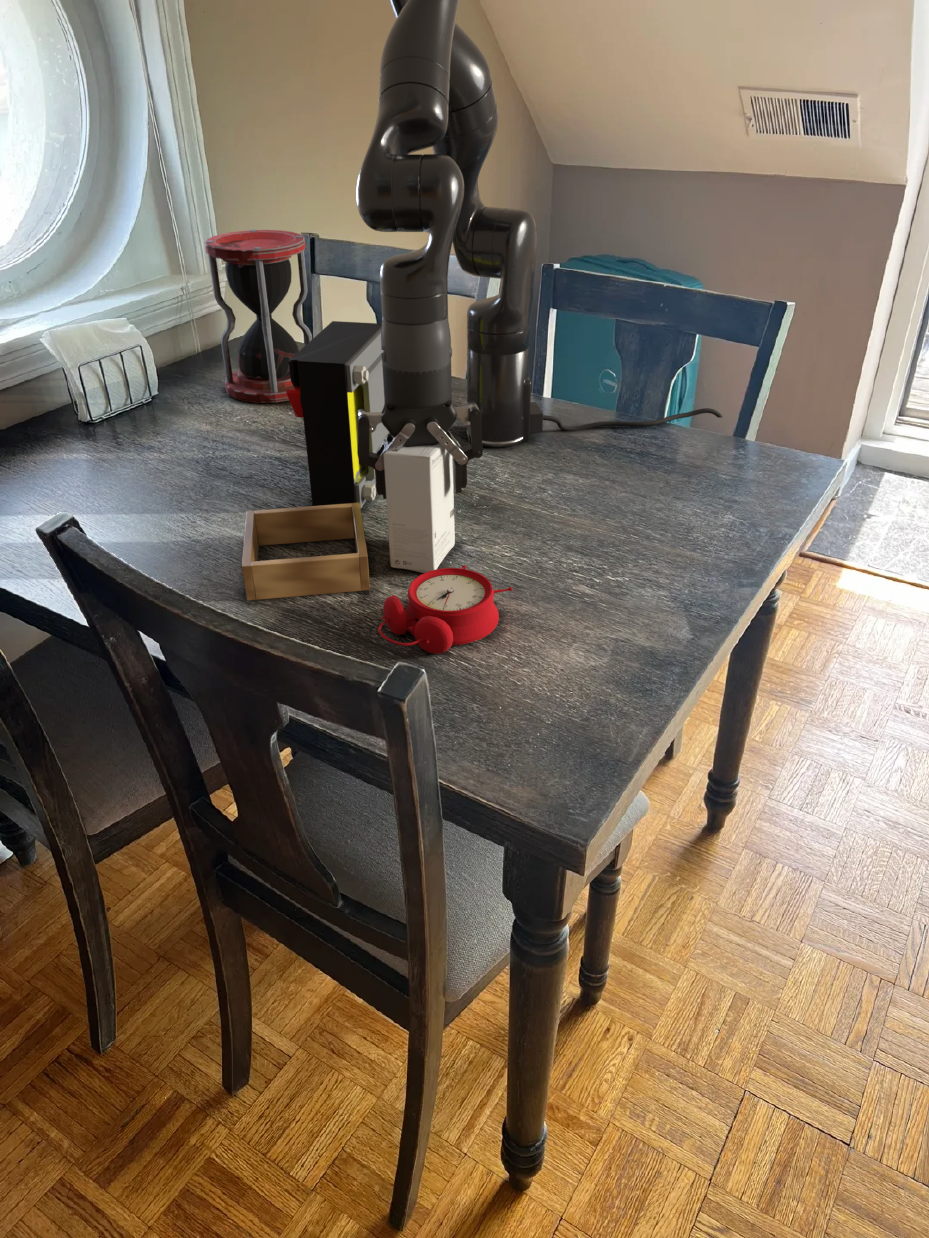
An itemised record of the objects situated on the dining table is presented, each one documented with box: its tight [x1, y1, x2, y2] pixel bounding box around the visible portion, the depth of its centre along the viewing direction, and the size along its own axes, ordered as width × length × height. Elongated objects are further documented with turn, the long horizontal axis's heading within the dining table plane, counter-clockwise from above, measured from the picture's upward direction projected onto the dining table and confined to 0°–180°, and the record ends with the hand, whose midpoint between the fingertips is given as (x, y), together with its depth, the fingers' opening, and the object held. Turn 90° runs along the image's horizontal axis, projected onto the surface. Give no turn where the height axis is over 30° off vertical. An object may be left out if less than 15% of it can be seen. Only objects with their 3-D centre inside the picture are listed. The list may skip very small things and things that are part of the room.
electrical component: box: [286, 320, 389, 509], centre depth 128 cm, size 18×10×20 cm, turn 168°
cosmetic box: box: [384, 443, 456, 574], centre depth 112 cm, size 8×6×15 cm
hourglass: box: [203, 229, 313, 404], centre depth 160 cm, size 16×16×25 cm
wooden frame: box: [241, 503, 371, 602], centre depth 113 cm, size 14×14×4 cm
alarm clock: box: [377, 564, 513, 655], centre depth 101 cm, size 10×6×15 cm
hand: (421, 493), depth 111 cm, fingers open, 8 cm apart
